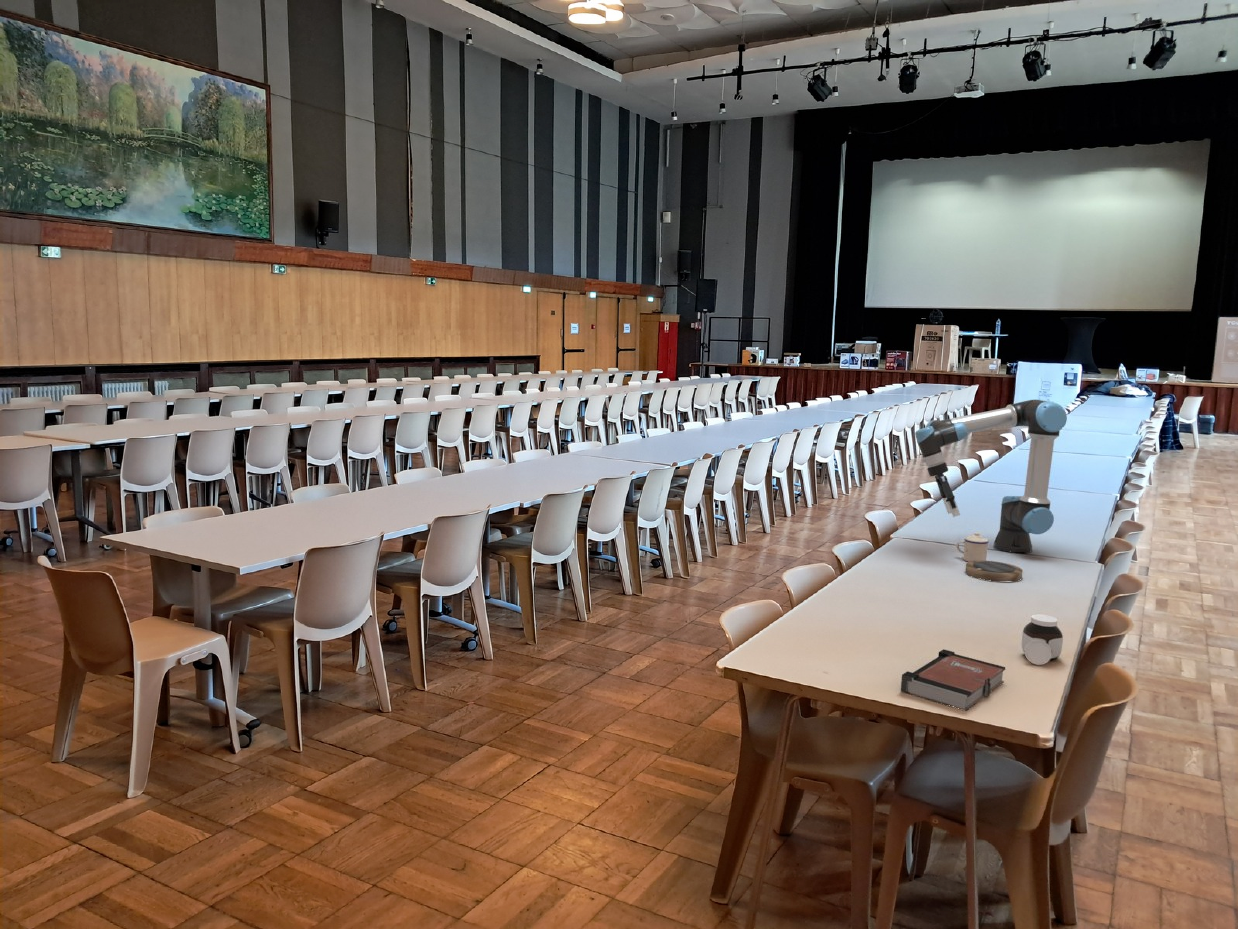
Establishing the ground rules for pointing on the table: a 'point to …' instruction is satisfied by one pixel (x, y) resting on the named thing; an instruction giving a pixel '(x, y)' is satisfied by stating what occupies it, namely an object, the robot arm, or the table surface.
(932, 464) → the robot arm
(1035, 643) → the spread jar
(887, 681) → the table surface
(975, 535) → the teacup with lid
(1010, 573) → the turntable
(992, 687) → the book
